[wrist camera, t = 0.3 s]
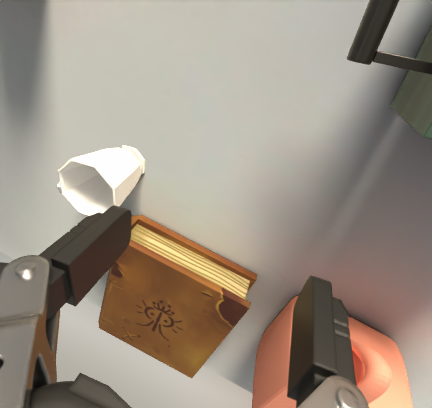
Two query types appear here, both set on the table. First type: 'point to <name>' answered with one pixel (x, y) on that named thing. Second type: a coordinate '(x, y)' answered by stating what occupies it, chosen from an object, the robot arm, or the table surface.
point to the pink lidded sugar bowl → (362, 357)
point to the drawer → (418, 68)
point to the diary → (173, 297)
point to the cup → (100, 178)
